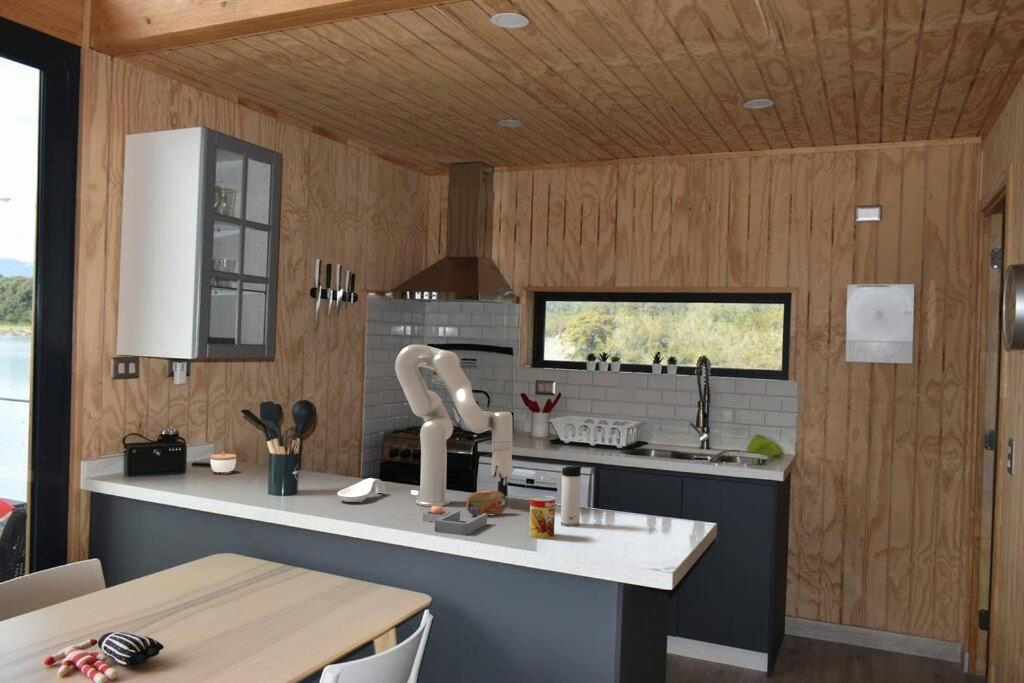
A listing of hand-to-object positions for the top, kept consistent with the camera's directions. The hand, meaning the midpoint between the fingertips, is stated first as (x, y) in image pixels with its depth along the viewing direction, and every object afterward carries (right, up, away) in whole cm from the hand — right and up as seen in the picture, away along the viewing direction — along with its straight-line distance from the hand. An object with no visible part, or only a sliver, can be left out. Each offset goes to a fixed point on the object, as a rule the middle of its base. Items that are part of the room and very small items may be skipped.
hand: (502, 495), depth 296 cm
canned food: (+13, -5, -41) cm, 43 cm away
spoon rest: (-53, -3, +10) cm, 54 cm away
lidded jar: (-122, -1, +56) cm, 134 cm away
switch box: (-22, -4, -22) cm, 32 cm away
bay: (-13, -4, -32) cm, 35 cm away
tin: (-6, -5, -12) cm, 14 cm away
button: (-22, -2, -22) cm, 32 cm away
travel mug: (+23, -5, -24) cm, 34 cm away
